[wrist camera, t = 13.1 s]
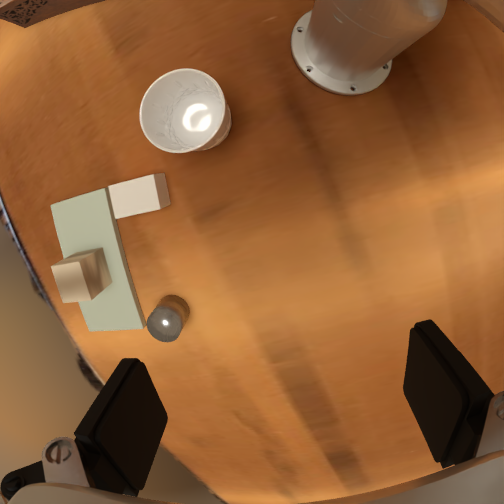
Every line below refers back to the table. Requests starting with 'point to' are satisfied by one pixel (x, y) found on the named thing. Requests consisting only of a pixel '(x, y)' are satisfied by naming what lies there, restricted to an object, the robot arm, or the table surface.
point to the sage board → (107, 236)
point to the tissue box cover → (37, 9)
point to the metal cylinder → (168, 318)
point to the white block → (139, 195)
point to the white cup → (185, 112)
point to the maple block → (82, 275)
